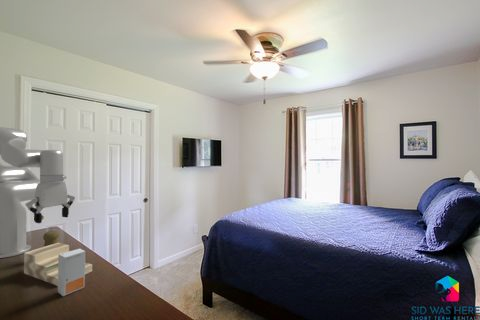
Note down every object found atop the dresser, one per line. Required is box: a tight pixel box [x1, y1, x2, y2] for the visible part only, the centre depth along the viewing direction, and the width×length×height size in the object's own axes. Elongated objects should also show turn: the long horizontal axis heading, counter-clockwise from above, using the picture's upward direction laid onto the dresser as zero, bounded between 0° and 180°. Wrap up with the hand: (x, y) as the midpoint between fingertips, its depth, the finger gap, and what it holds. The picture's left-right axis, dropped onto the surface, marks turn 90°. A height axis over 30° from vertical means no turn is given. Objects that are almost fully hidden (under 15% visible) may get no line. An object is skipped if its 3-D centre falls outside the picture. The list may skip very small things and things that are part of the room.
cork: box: [42, 230, 60, 247], centre depth 95 cm, size 6×6×11 cm
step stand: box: [23, 242, 93, 287], centre depth 83 cm, size 21×11×8 cm, turn 67°
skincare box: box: [57, 248, 86, 297], centre depth 71 cm, size 6×4×12 cm
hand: (52, 219), depth 94 cm, fingers open, 9 cm apart
